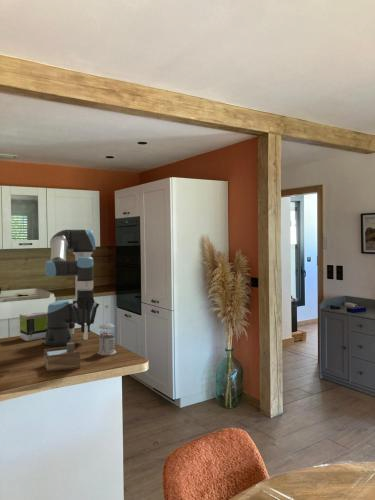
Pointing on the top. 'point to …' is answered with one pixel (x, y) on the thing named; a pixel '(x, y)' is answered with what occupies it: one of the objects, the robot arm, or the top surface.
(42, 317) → the tea box
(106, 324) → the french press
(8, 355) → the top surface
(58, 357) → the lid box
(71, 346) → the grey l-shaped block
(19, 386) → the top surface
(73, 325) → the coffee cup
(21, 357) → the top surface
